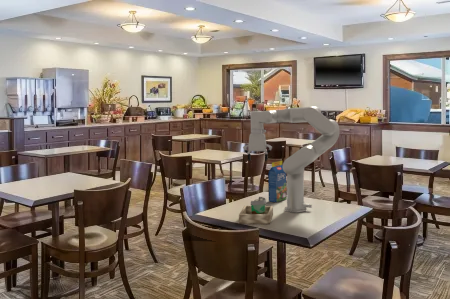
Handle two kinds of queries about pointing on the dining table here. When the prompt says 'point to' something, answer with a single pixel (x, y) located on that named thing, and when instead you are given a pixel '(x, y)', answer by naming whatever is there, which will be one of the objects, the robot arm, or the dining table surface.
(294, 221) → the dining table surface
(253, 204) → the food container
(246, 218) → the birch box
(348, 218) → the dining table surface
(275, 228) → the dining table surface
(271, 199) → the blue food package
